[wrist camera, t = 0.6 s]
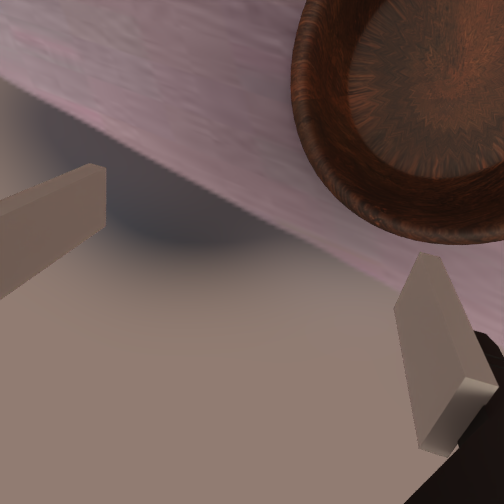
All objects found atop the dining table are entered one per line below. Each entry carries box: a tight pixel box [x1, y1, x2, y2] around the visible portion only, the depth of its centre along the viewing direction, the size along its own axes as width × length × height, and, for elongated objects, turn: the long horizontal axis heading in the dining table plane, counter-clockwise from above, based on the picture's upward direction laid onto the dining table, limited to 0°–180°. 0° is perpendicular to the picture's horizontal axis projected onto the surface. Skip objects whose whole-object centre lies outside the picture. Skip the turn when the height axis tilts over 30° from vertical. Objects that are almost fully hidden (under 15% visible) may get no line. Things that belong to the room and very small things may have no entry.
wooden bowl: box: [290, 0, 504, 245], centre depth 30 cm, size 25×25×10 cm
